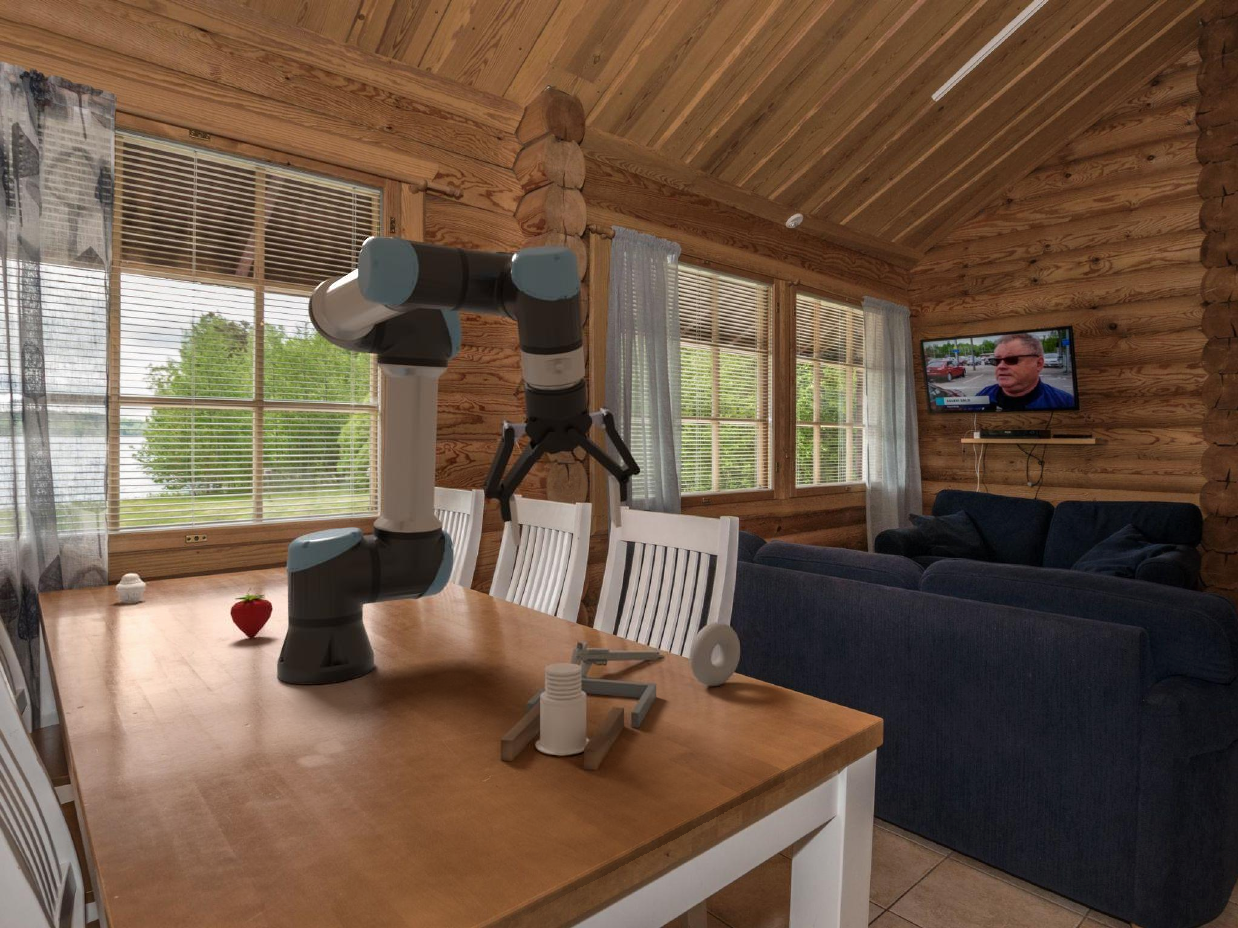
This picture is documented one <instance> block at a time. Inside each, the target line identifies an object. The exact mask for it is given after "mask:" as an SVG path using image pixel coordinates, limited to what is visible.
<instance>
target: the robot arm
mask: <svg viewBox="0 0 1238 928" xmlns="http://www.w3.org/2000/svg"><path fill="white" fill-rule="evenodd" d="M581 286H582V282H581V278H580V275H579V268H578V258H577V255H576V253H575V252H574V251H573V250H572V249H571V248H568V247H567V246H556V245H542V246H541V245H539V246H531V247H530V246H529V247H525V248H522V249H519V250H517V251H516V252H515V253H513V252H505V251H498V250H497V251H492V252H491V251H485V250H479V249H478V250H477V249H472V248H471V249H470V248H464V247H463V248H462V247H456V246H455V247H454V246H447V245H442V244H436V243H435V244H434V243H428V242H424V241H416V240H410V239H405V238H402V237H399V236H393V237H384V236H369V237H368V238H367V239H366V240H364V242H363V243H362V245H361V249H360V251H359V254H358V260H357V269H355V270H353V271H352V272H350V273H349V274H347V275H338V276H332V277H330V278H328V279H326V280H325V281H322V282H321V283H320V284H318V285H317V286H316V287H315V288H314V290H313V291H312V292H311V295H310V296H309V302H308V305H307V309H308V312H307V313H308V316H309V320H310V322H311V324H312V326H313V328H314V330H315V331H316V332H317V333H318V334H319V335H320V336H321V337H322V338H323V339H324V340H326V341H327V342H330V343H331V344H333V345H334V346H336V347H339V348H341V349H343V350H346V351H350V352H355V353H360V354H374V355H377V360H376V361H377V362H376V364H377V367H378V368H379V369H381V372H383V373H384V375H385V377H386V381H385V383H386V384H385V385H386V386H385V416H384V417H385V418H384V419H385V422H384V423H385V424H384V426H385V427H384V428H385V429H384V457H383V458H384V465H383V466H384V468H383V500H382V501H383V503H382V504H383V505H382V506H383V508H382V514H380V516H379V517H378V518H377V519H375V520H374V522H373V533H372V534H369V535H368V534H367V535H364V533H363V532H362V529H361V528H359V527H343V528H342V527H341V528H331V529H325V530H319V531H315V532H312V533H306V534H304V535H301V536H298V537H297V538H295V539H293V540H291V542H290V544H289V545H288V547H287V559H286V560H287V561H286V567H285V570H286V572H287V622H288V625H287V632H286V635H285V638H284V640H283V644H282V647H281V650H280V653H279V657H278V659H277V664H276V673H277V674H276V676H277V678H278V680H280V681H282V682H285V683H290V684H297V685H320V684H323V685H324V684H333V683H337V682H342V681H343V682H344V681H347V680H351V679H355V678H358V677H361V676H363V675H366V674H368V673H369V672H371V671H372V670H374V667H375V653H374V650H373V648H372V644H371V641H370V638H369V635H368V632H367V630H366V627H365V624H364V617H363V615H364V611H363V608H364V605H367V604H376V603H385V602H391V601H401V600H402V601H403V600H411V599H413V600H418V599H419V600H420V599H421V598H425V597H429V596H430V597H431V596H435V595H438V594H440V593H441V592H442V591H443V590H444V589H445V587H446V586H447V584H448V583H449V580H450V578H451V575H452V571H453V565H454V556H455V554H454V549H453V540H452V537H451V535H450V533H449V532H448V531H446V530H444V529H443V522H442V521H441V520H440V519H439V518H438V517H437V516H436V514H435V486H436V484H435V483H436V481H435V480H436V459H437V458H436V457H437V456H436V455H437V454H436V453H437V426H438V424H437V423H438V399H439V398H438V394H439V393H438V392H439V391H438V390H439V378H440V377H441V376H442V375H443V374H444V373H445V372H446V371H447V370H448V366H449V365H448V364H449V360H452V359H455V358H456V357H457V356H458V354H459V353H460V346H461V345H462V338H463V337H462V334H463V333H462V323H461V316H460V312H461V313H470V314H481V315H490V316H501V317H505V318H508V319H510V320H513V321H514V322H517V323H516V324H517V329H518V338H519V347H520V350H519V351H520V360H521V368H522V369H521V370H522V379H523V380H524V381H525V384H524V386H523V391H524V400H525V402H524V403H525V408H526V409H525V410H526V411H525V412H526V418H525V421H524V422H521V423H520V422H519V423H512V422H511V421H510V420H504V421H503V422H502V423H501V438H500V442H499V444H498V446H497V449H496V452H495V455H494V457H493V459H492V462H491V465H490V467H489V469H488V472H487V475H486V478H485V480H484V482H483V484H482V490H483V493H484V496H485V498H486V499H487V500H492V499H496V500H498V503H499V512H500V515H501V519H502V521H503V523H507V522H510V531H511V538H512V541H513V543H514V546H515V547H517V546H521V545H522V544H521V535H520V527H519V518H518V510H517V509H518V508H517V500H516V498H515V495H514V493H515V491H517V488H518V487H519V486H520V485H521V483H522V481H524V479H525V477H527V475H528V474H529V472H530V471H531V470H532V468H533V467H534V465H535V463H536V462H537V461H539V460H541V458H542V456H543V455H544V454H549V455H555V454H558V453H561V452H566V453H567V452H569V453H570V452H574V451H575V449H577V448H578V447H580V448H581V449H582V450H583V451H584V452H586V453H588V454H589V455H590V456H591V457H592V458H594V459H595V461H597V462H598V463H599V464H600V465H601V466H602V467H603V468H604V469H606V470H607V471H608V472H609V473H610V474H611V475H608V490H609V508H610V509H609V513H610V520H611V521H612V523H613V525H614V527H615V528H621V527H622V509H621V503H622V502H623V503H625V502H627V499H628V483H629V481H630V477H632V476H638V475H639V474H640V473H641V468H640V466H639V465H638V463H637V461H636V460H635V459H634V456H633V455H632V452H630V450H629V449H628V447H627V445H626V444H625V442H624V440H623V439H622V437H621V435H620V434H619V432H618V430H617V428H616V425H615V419H614V415H613V414H612V412H611V411H610V410H609V408H608V407H606V406H601V407H600V408H599V411H595V412H591V413H589V411H588V399H587V384H586V383H587V382H586V380H585V379H584V378H583V377H585V374H586V369H585V367H586V366H585V356H584V355H585V354H584V342H583V341H584V340H583V337H584V335H583V315H582V314H583V313H582V295H581V294H582V293H581ZM593 424H595V425H596V426H597V427H598V429H603V430H604V432H605V433H606V434H607V436H608V438H609V440H610V442H611V443H612V444H613V446H614V448H615V449H616V451H617V453H618V454H619V456H620V458H621V459H622V460H623V462H624V464H623V465H620V464H618V462H616V461H615V460H614V459H613V458H612V457H611V456H610V455H608V453H606V451H604V450H603V449H602V448H601V447H600V446H599V445H597V444H596V442H594V441H593V440H592V439H591V438H590V437H589V436H588V435H587V433H588V432H589V430H590V429H591V428H592V425H593ZM523 434H526V436H527V437H528V438H529V441H528V442H527V444H526V446H525V449H524V450H523V451H522V453H521V454H520V456H519V457H518V458H517V460H516V461H515V463H514V464H513V465H512V467H511V468H510V470H509V471H508V472H507V474H506V475H505V476H504V474H505V471H506V468H507V466H508V464H509V460H510V458H511V456H512V453H513V451H514V448H515V443H517V442H519V440H520V438H521V436H522V435H523ZM503 476H504V478H503ZM502 478H503V480H502Z"/></svg>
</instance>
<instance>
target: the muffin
mask: <svg viewBox="0 0 1238 928" xmlns="http://www.w3.org/2000/svg"><path fill="white" fill-rule="evenodd" d="M114 589H115V591H116V595H117V596H118V597H119V599H120V601H121V603H123V604H134V603H139V602H140V601H141V598H142V597H143V594H144V593H145V591H146V589H147V583H145V582H144V581H143V580H142V579H141V578H140V576H139V574H137V573H132V572H129V573H127V574H124V575H123V576H122V577H121V580H120V581H119V583H118V584H116V586H115V588H114Z"/></svg>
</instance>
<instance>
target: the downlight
mask: <svg viewBox="0 0 1238 928" xmlns="http://www.w3.org/2000/svg"><path fill="white" fill-rule="evenodd" d="M581 666H582V665H580V666H579V665H577V664H571V662H570V663H563V662H561V663H559V662H558V663H552V664H549V665H547V666H545V667H544V671H545V672H544V676H545V677H544V680H545V681H544V686H545V685H546V686H545V692H543V693H541V695H540V731H539V732H540V733H539V739H538V740H537V741H535V749H537V750H538V752H541V753H544V754H547V755H551V756H552V755H555V756H561V757H562V756H563V757H564V756H570V755H576V754H579V753H584V747H585V746H586V745H587V743H588V742H589V740H590V739H589V738H588V737H587V693H585V692H584V691H582V690H581V689H582V686H581V684H582V681H581V679H582V677H581V675H582V672H581V670H582V667H581Z"/></svg>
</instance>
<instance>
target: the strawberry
mask: <svg viewBox="0 0 1238 928" xmlns="http://www.w3.org/2000/svg"><path fill="white" fill-rule="evenodd" d="M251 589H252V587H250V588H249V589H248V591H247V592H246V593H247V594H246V595H245V596H242V597H236V598H234V600H241V601H237V602H235V603H234V604H233V605H232V606H231V608H230V616H231V617H230V618H231V619H232V623H233V624H234V625H235V626H236V627H237V628H238V629H239V630H240V631H241V632H243V634H244V635H245V636H246V637H247V638H249V639H253V638H255V637H256V636H257V635H258V634H259V632H260V631H261V630H262V629H263V628H264V627H265V626H266V623H267V622H268V621H269V619H270V618H271V616H272V612H273V605H272V602H271V601H269V600H267V599H265V598H266V597H265V594H259V595H256V594H251V595H250V594H249V593H250V591H251Z"/></svg>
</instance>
